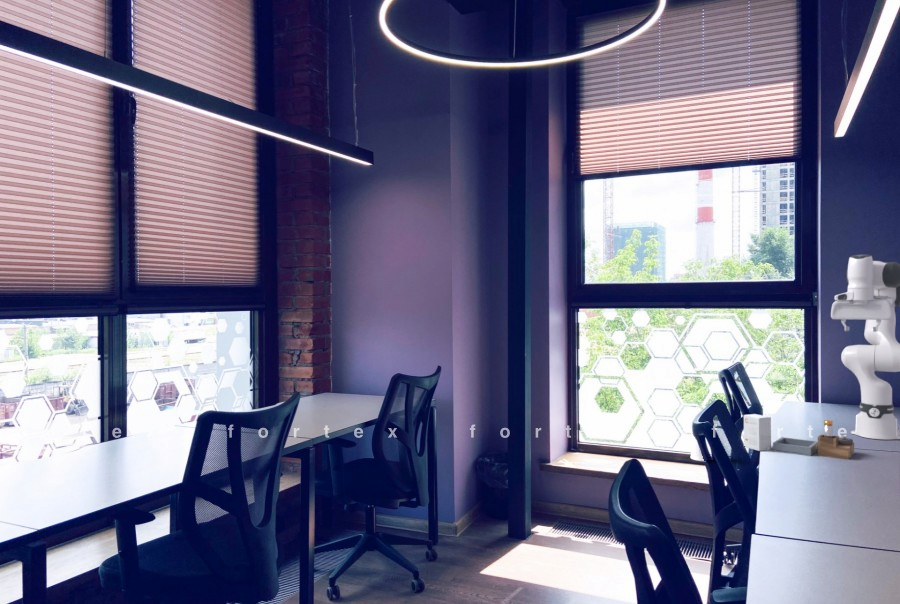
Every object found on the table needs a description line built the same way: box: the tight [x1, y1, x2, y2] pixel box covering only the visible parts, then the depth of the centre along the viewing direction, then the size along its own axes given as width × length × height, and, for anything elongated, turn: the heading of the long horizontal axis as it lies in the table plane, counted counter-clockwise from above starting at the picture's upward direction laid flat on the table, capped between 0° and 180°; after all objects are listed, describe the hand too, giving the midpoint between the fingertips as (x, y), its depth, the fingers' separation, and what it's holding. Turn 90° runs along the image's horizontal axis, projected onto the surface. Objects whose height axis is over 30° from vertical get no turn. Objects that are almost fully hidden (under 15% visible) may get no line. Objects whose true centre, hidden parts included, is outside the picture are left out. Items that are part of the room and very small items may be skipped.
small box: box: [743, 413, 772, 452], centre depth 259 cm, size 8×6×13 cm
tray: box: [772, 436, 818, 457], centre depth 255 cm, size 13×13×3 cm
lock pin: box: [823, 419, 834, 438], centre depth 247 cm, size 3×3×9 cm
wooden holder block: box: [817, 433, 855, 460], centre depth 248 cm, size 12×10×7 cm
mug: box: [690, 428, 705, 462], centre depth 243 cm, size 12×8×12 cm
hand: (860, 331), depth 254 cm, fingers open, 8 cm apart
